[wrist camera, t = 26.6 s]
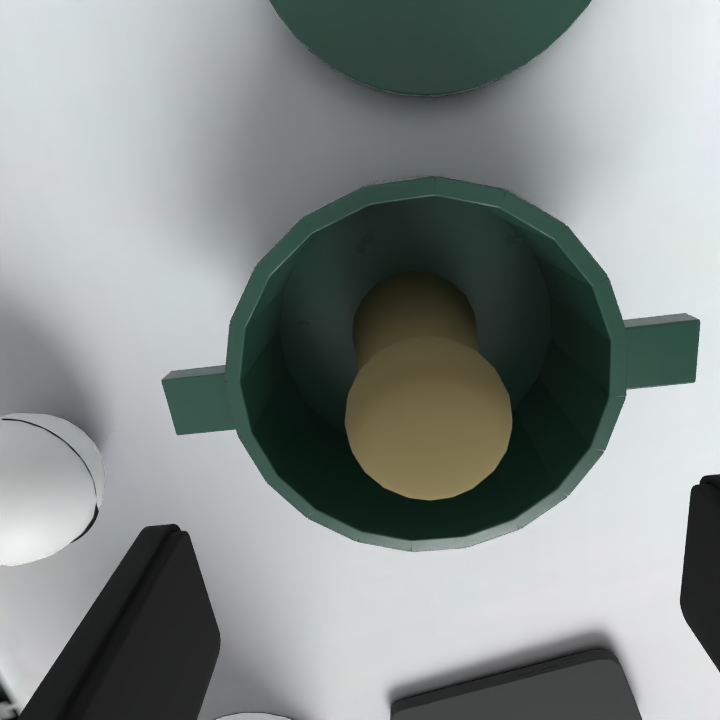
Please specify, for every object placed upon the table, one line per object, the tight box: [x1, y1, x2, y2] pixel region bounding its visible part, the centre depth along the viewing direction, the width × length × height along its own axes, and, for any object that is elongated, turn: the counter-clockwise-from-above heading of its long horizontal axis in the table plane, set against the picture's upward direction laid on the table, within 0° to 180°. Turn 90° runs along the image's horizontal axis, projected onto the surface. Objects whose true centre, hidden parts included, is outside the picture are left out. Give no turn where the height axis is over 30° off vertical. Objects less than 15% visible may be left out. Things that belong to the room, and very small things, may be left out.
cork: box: [345, 271, 512, 500], centre depth 20 cm, size 6×6×11 cm
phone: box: [390, 649, 642, 720], centre depth 33 cm, size 7×1×15 cm
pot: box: [162, 176, 700, 552], centre depth 22 cm, size 14×20×8 cm
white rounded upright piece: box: [0, 413, 115, 566], centre depth 25 cm, size 10×7×7 cm
